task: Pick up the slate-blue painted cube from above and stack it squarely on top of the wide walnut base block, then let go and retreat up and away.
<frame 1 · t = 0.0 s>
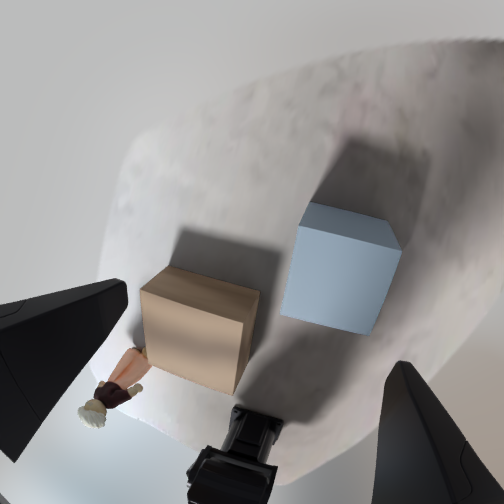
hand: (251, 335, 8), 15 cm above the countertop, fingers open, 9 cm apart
slate-blue cube: (340, 247, 22), on the countertop
walnut base block: (210, 316, 28), on the countertop
grandmother figurine: (142, 355, 34), on the countertop
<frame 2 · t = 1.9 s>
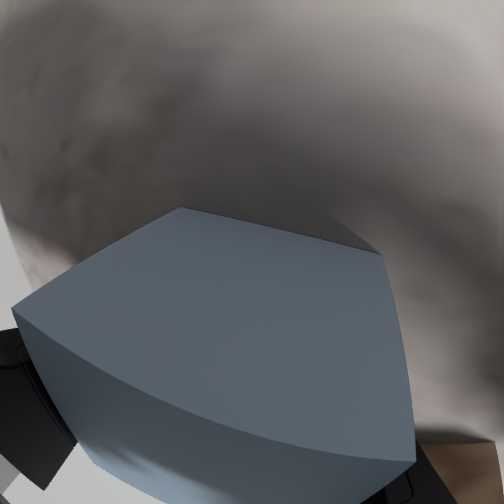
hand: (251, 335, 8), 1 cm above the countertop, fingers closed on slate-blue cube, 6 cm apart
slate-blue cube: (260, 315, 9), on the countertop, touching gripper
walnut base block: (394, 476, 12), on the countertop
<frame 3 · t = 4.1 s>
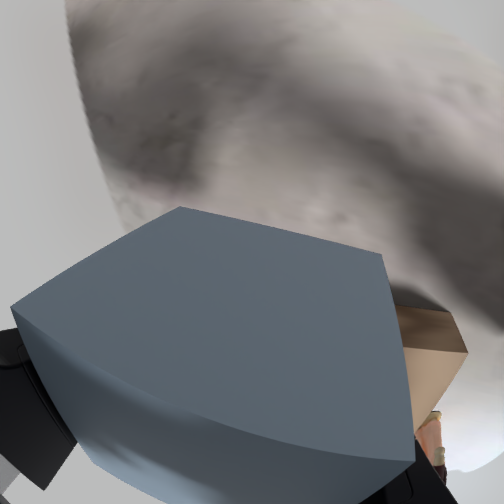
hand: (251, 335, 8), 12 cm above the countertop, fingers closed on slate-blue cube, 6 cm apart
slate-blue cube: (259, 315, 9), point 11 cm above the countertop, touching gripper
walnut base block: (381, 349, 21), on the countertop
grandmother figurine: (428, 423, 23), on the countertop
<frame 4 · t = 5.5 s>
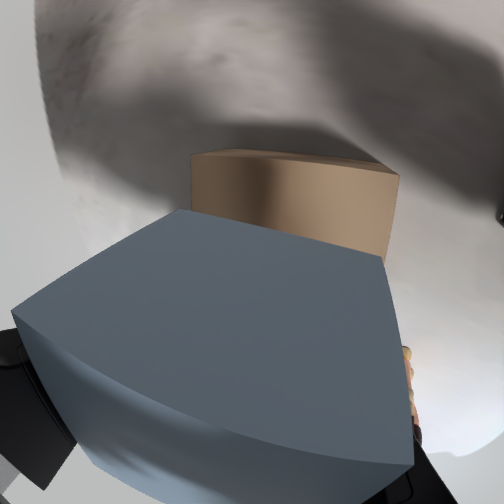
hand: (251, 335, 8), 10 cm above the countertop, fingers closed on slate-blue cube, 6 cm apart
slate-blue cube: (260, 317, 9), point 9 cm above the countertop, touching gripper
walnut base block: (298, 227, 18), on the countertop
grandmother figurine: (395, 369, 20), on the countertop
when the fingers open (7 cm above the countertop, at t = 6.5 s): slate-blue cube drops 2 cm, point 5 cm above the countertop.
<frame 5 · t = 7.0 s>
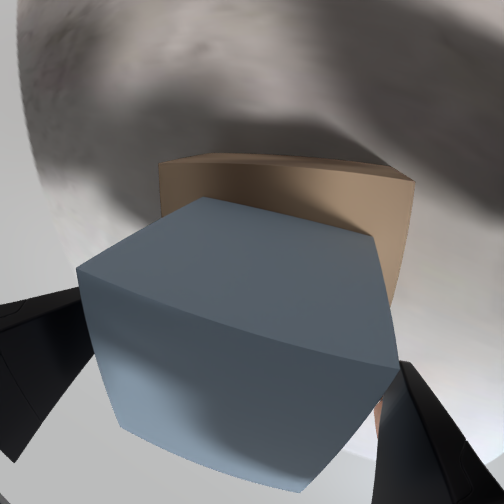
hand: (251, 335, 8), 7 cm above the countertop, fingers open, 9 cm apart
slate-blue cube: (270, 291, 11), point 5 cm above the countertop
walnut base block: (293, 242, 15), on the countertop
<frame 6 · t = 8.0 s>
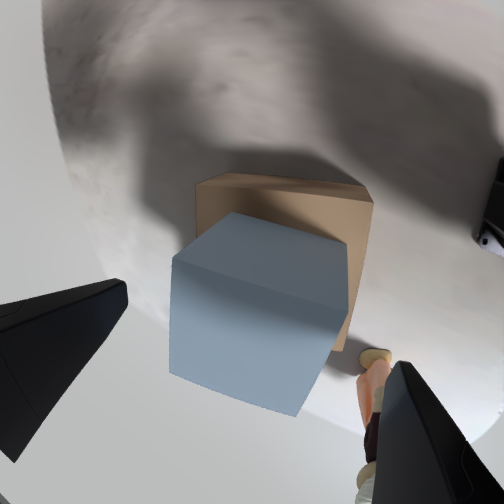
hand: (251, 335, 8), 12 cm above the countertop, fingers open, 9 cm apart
slate-blue cube: (275, 278, 16), point 5 cm above the countertop, touching walnut base block
walnut base block: (290, 242, 20), on the countertop, touching slate-blue cube
grandmother figurine: (377, 369, 22), on the countertop
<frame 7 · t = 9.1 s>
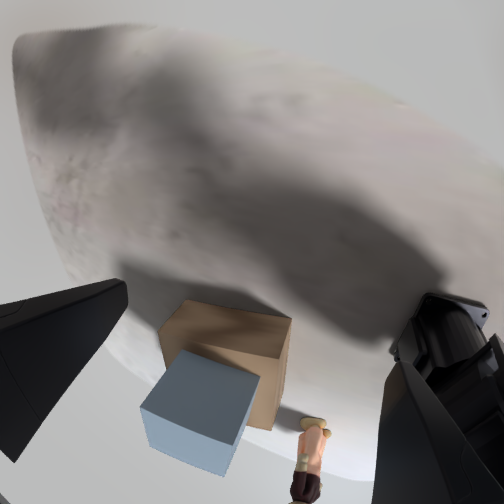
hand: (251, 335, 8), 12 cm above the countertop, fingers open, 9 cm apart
slate-blue cube: (216, 387, 21), point 5 cm above the countertop, touching walnut base block
walnut base block: (238, 348, 25), on the countertop, touching slate-blue cube
grandmother figurine: (317, 429, 27), on the countertop
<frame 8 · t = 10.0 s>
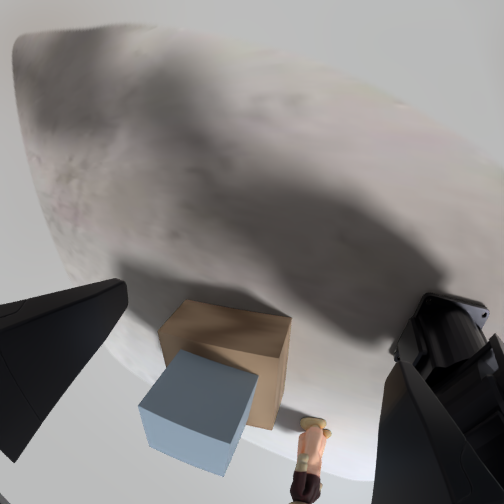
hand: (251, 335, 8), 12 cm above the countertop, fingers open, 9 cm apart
slate-blue cube: (215, 387, 21), point 5 cm above the countertop, touching walnut base block
walnut base block: (238, 348, 25), on the countertop, touching slate-blue cube
grandmother figurine: (317, 429, 27), on the countertop
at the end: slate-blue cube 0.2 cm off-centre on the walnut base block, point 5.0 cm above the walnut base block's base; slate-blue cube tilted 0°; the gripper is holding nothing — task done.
